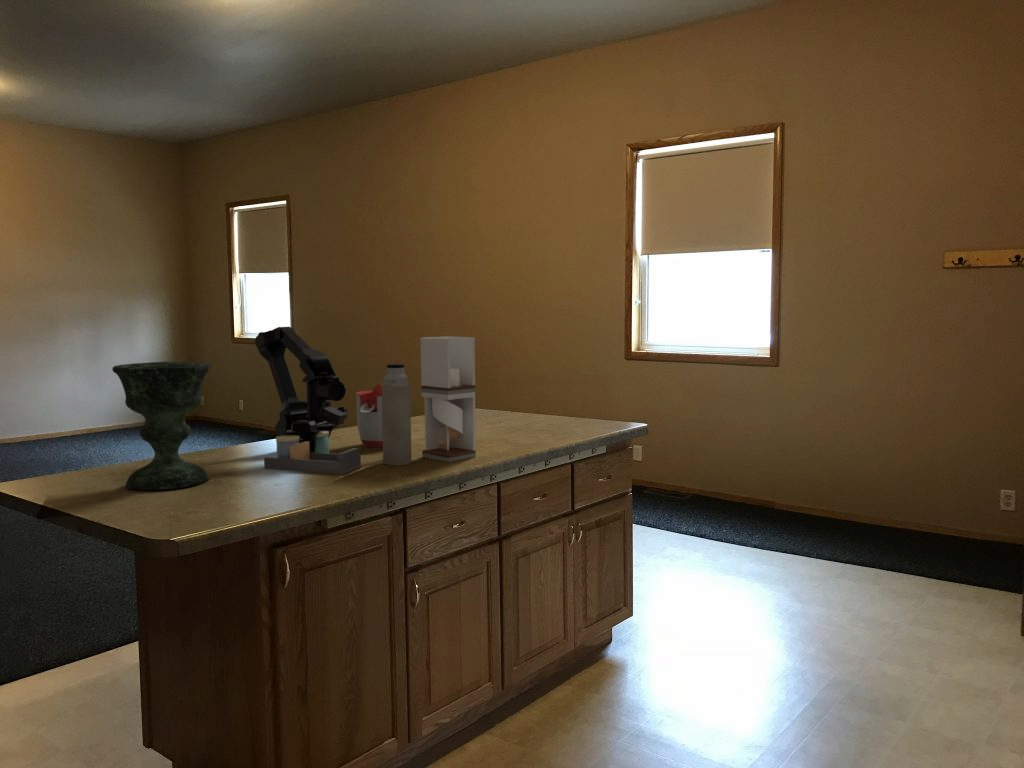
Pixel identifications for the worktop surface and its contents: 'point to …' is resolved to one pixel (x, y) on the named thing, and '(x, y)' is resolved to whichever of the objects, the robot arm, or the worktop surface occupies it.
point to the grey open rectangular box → (318, 462)
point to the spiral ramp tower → (448, 397)
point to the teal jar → (322, 442)
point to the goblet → (164, 419)
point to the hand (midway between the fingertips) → (318, 452)
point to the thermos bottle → (396, 416)
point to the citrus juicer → (370, 416)
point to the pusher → (300, 451)
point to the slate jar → (286, 445)
